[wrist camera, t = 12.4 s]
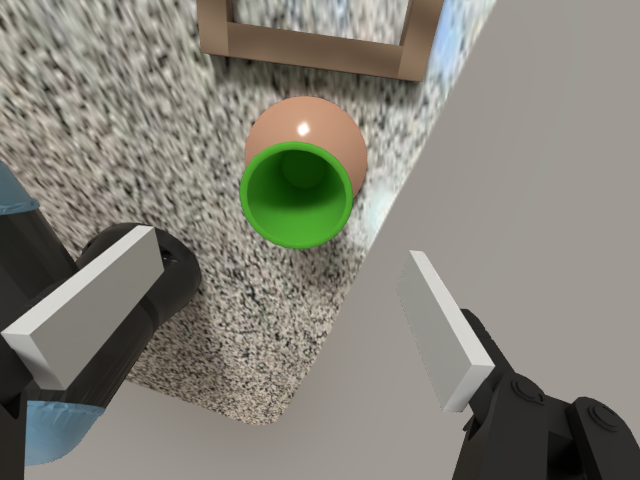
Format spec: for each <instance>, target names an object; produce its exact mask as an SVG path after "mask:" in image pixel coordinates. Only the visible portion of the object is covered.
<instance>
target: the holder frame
mask: <svg viewBox="0 0 640 480" xmlns="http://www.w3.org/2000/svg"><path fill="white" fill-rule="evenodd" d="M443 1H444V0H409V2H408V7H407V12H406V16H405V21H404V26H403V30H402V35H401V40H400V45H399V46H398V45H391V44H383V43H376V42H369V41H362V40H355V39H347V38H340V37H333V36H326V35H319V34H311V33H304V32H297V31H290V30H283V29H275V28H268V27H261V26H254V25H247V24H239V23H233V8H232V0H196V3H197V13H198V24H199V34H200V45H201V52H202V53H206V54H209V55H217V56H225V57H232V58H240V59H247V60H255V61H262V62H270V63H278V64H285V65H293V66H300V67H308V68H315V69H323V70H331V71H338V72H346V73H353V74H361V75H369V76H376V77H384V78H391V79H399V80H406V81H414V82H422V81H423V77H424V74H425V70H426V66H427V62H428V58H429V55H430V51H431V47H432V43H433V39H434V36H435V32H436V28H437V24H438V20H439V17H440V13H441V9H442V5H443Z"/></svg>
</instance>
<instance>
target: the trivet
mask: <svg viewBox="0 0 640 480" xmlns="http://www.w3.org/2000/svg"><path fill="white" fill-rule="evenodd" d="M292 141H297V142H304V143H310V144H313V145H315V146H318V147H320V148H322V149H325V150H326V151H327V152H329V153H330V154H331V155H333V156H334V157H335V158H336V159H337V160H338V161H339V162H340V164H341V165H342V166H343V167H344V168H345V170H346V172H347V174H348V176H349V179H350V181H351V185H352V190H353V199H354V197H355V196H356V195H357V193H358V191H359V190H360V188H361V186H362V183H363V181H364V178H365V174H366V169H367V151H366V146H365V142H364V139H363V136H362V134H361V132H360V130H359V128H358V126H357V125H356V123H355V122H354V121H353V119H352V118H351V117H350V116H349V115H348V114H347V113H346V112H345V111H344V110H343V109H341V108H340V107H339V106H337V105H336V104H334V103H332V102H330V101H328V100H325V99H322V98H318V97H313V96H298V97H292V98H288V99H285V100H283V101H280V102H278V103H276V104H275V105H273V106H271V107H270V108H268V109H267V110H266V111H265V112H264V113H263V114H262V115H261V116H260V117H259V118H258V119H257V121H256V122H255V124H254V125H253V127H252V129H251V131H250V133H249V136H248V139H247V142H246V148H245V165H246V167H247V166H248V165H249V163H250V162H251V161H252V159H253V158H254V157H255V156H256V155H258V154H259V153H260V152H262V151H263V150H264V149H266V148H268V147H270V146H273V145H276V144H278V143H283V142H292Z"/></svg>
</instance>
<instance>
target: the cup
mask: <svg viewBox="0 0 640 480" xmlns="http://www.w3.org/2000/svg"><path fill="white" fill-rule="evenodd" d="M240 200H241V207H242V209H243V212H244V214H245V216H246V219H247V220H248V221H249V223H250V224H251V226H252V227H253V228H254V230H255V231H257V232H258V233H259V234H260V235H261V236H262V237H263V238H265V239H267V240H268V241H270V242H272V243H273V244H276V245H279V246H282V247H285V248H292V249H305V248H312V247H315V246H318V245H322V244H323V243H325V242H327V241H329V240H330V239H332V238H333V237H334V236H335V235H336V234H338V233H339V232H340V231H341V230H342V228H343V227H344V225H345V224H346V222H347V221H348V219H349V216H350V213H351V210H352V206H353V190H352V185H351V181H350V179H349V176H348V174H347V172H346V170H345V168H344V167H343V166H342V165H341V164H340V162H339V161H338V160H337V159H336V158H335V157H334V156H333V155H331V154H330V153H329V152H327V151H326V150H325V149H322V148H320V147H318V146H315V145H313V144H310V143H304V142H297V141H292V142H283V143H278V144H276V145H273V146H270V147H268V148H266V149H264V150H263V151H262V152H260V153H259V154H258V155H256V156H255V157H254V158H253V159H252V161H251V162H250V163H249V165H248V166H247V167H246V169H245V172H244V174H243V177H242V179H241V185H240Z"/></svg>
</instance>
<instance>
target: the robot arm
mask: <svg viewBox="0 0 640 480" xmlns="http://www.w3.org/2000/svg"><path fill="white" fill-rule="evenodd" d="M39 207H40V204H39V203H38V201H37V200H35V199H34V198H32V197H30V195H29V194H28V193H27V192H26V190H25V189H24V188H23V186H22V185H21V184H20V182H19V181H18V180H17V178H16V177H15V176H14V174H13V173H12V172H11V170H10V169H9V168H8V167H7V165H6V164H5V163H4V162H3V161H1V160H0V480H24V466H29V465H38V464H44V463H49V462H52V461H55V460H57V459H59V458H61V457H63V456H64V455H66V454H68V453H69V452H70V451H72V450H73V449H74V448H75V447H76V446H77V445H78V443H80V441H81V440H82V438H83V437H84V436H85V434H86V433H87V432H88V430H89V429H90V428H91V426H92V425H93V424H94V422H95V421H96V420H97V418H98V417H99V416H101V415H102V414H103V413H104V411H105V409H106V407H107V405H108V404H109V403H110V401H111V399H112V398H113V396H114V395H115V393H116V392H117V390H118V389H119V387H120V385H121V384H122V382H123V381H124V379H125V378H126V376H127V375H128V373H129V372H130V370H131V368H132V367H133V365H134V364H135V362H136V361H137V359H138V358H139V356H140V355H141V353H142V351H143V350H144V348H145V347H146V345H147V344H148V342H149V341H150V339H151V337H152V336H153V334H154V333H155V331H156V330H157V329H158V327H159V326H161V325H162V324H163V323H164V322H166V321H167V320H168V319H169V318H171V317H172V316H173V315H174V314H175V313H176V312H178V311H180V310H181V309H183V308H184V307H185V306H186V305H187V304H188V303H189V302H190V301H191V300H192V298H193V296H194V295H195V293H196V291H197V290H198V288H199V285H200V279H201V275H200V269H199V266H198V263H197V261H196V259H195V258H194V256H193V255H192V253H191V252H190V251H189V250H188V248H187V247H186V246H185V245H184V244H183V243H181V242H180V241H179V240H178V239H176V238H175V237H173V236H172V235H170V234H169V233H167V232H165V231H163V230H161V229H158V228H156V227H153V226H150V225H146V224H140V223H120V224H116V225H112V226H110V227H108V228H106V229H105V230H103V231H102V232H100V233H99V234H97V235H96V236H94V237H93V238H92V239H91V240H90V241H89V242H88V243H87V244H86V246H85V247H84V249H83V251H82V254H81V256H80V257H79V258H78V259H77V261H76V262H74V260H73V259H72V257H71V256H70V254H69V253H68V251H67V250H66V248H65V247H64V246H63V244H62V243H61V241H60V240H59V238H58V237H57V235H56V234H55V232H54V231H53V229H52V228H51V226H50V225H49V223H48V222H47V220H46V219H45V217H44V216H43V214H42V213H41V211H40V210H39ZM396 291H397V294H398V296H399V299H400V302H401V304H402V307H403V310H404V312H405V315H406V317H407V320H408V323H409V325H410V328H411V331H412V333H413V336H414V338H415V341H416V344H417V346H418V349H419V352H420V354H421V357H422V360H423V362H424V365H425V368H426V370H427V373H428V376H429V378H430V381H431V383H432V386H433V389H434V391H435V394H436V397H437V399H438V402H439V405H440V407H441V410H442V411H448V412H463V410H464V409H465V408H466V406H467V405H468V403H469V405H470V407H471V409H472V411H473V413H474V414H473V416H472V417H471V418H470V420H469V421H468V422H467V424H466V425H465V426H464V428H463V431H466V430H467V432H466V435H465V439H464V442H463V445H462V448H461V452H460V455H459V458H458V461H457V465H456V468H455V471H454V474H453V478H452V480H640V448H639V446H638V444H637V442H636V440H635V438H634V436H633V434H632V432H631V430H630V429H629V428H628V426H627V425H626V423H625V422H624V421H623V420H622V419H621V418H620V417H619V416H618V415H617V414H616V413H615V412H614V411H613V410H611V409H610V408H609V407H607V406H606V405H604V404H602V403H601V402H598V401H597V400H595V399H592V398H588V397H579V398H577V399H576V400H575V401H574V402H573V403H572V404H570V403H567V402H564V401H562V400H558V399H556V398H553V397H550V396H547V395H545V394H544V392H543V391H542V390H541V389H540V388H539V387H538V386H537V385H536V384H535V383H534V382H532V381H531V380H530V379H528V378H527V377H524V376H522V375H520V374H518V373H515V372H514V370H513V368H512V367H511V366H510V364H509V363H508V361H507V360H506V358H505V357H504V356H503V354H502V352H501V351H500V349H499V348H498V346H497V345H496V343H495V342H494V341H493V340H492V339H491V336H490V335H489V333H488V332H487V331H486V330H485V327H484V326H483V324H482V323H481V322H480V320H479V319H478V318H477V317H476V316H475V315H474V314H473V313H471V312H470V311H469V310H468V309H459V308H458V306H457V304H456V303H455V301H454V300H453V298H452V296H451V295H450V293H449V292H448V290H447V289H446V287H445V285H444V284H443V283H442V281H441V279H440V277H439V276H438V274H437V273H436V271H435V269H434V268H433V266H432V265H431V263H430V261H429V260H428V259H427V257H426V255H425V253H424V252H421V251H409V253H408V256H407V259H406V262H405V265H404V268H403V271H402V274H401V277H400V280H399V283H398V286H397V289H396Z"/></svg>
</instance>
